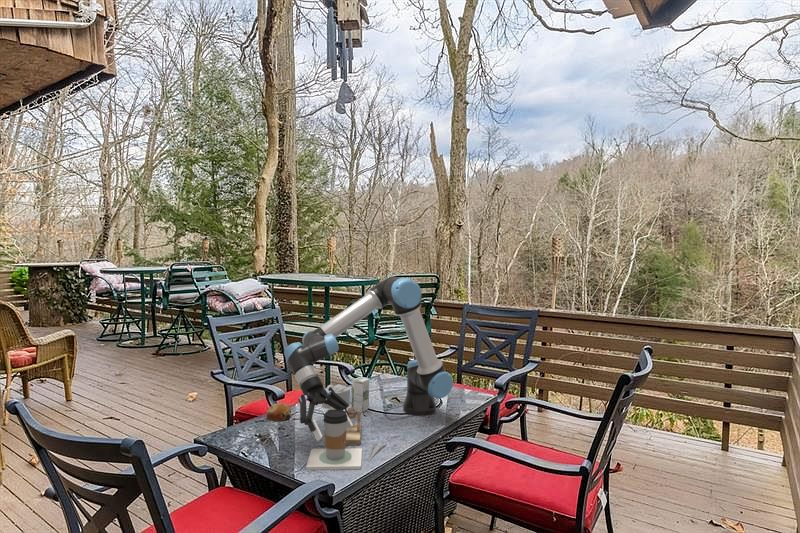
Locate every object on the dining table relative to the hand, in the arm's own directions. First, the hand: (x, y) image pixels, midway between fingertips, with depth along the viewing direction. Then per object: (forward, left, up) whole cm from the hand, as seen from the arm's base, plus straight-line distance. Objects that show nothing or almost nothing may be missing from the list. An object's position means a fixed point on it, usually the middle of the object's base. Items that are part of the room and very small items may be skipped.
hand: (335, 433), depth 159 cm
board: (0, 0, -9) cm, 9 cm away
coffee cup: (0, 0, -8) cm, 8 cm away
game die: (+2, -38, -10) cm, 40 cm away
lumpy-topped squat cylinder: (+5, -59, -10) cm, 60 cm away
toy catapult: (-4, -22, -9) cm, 24 cm away
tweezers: (-13, -4, -10) cm, 17 cm away
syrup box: (-7, -50, -10) cm, 52 cm away
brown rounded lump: (+28, -42, -10) cm, 51 cm away
